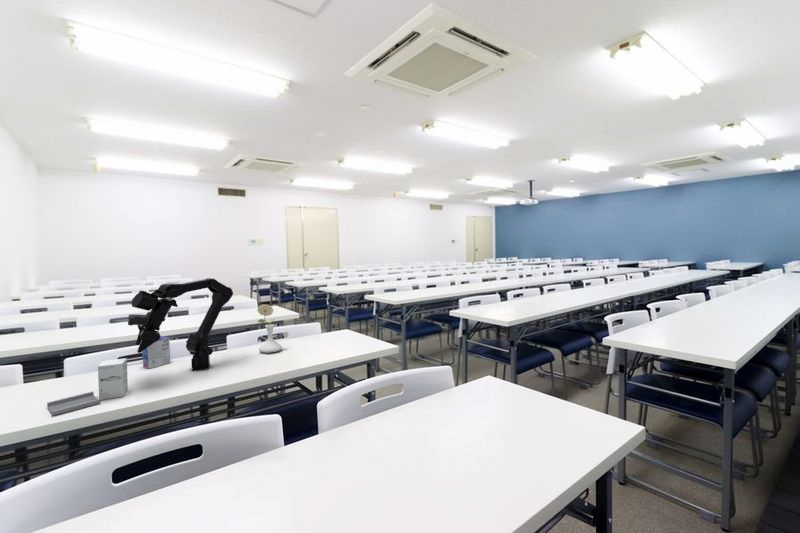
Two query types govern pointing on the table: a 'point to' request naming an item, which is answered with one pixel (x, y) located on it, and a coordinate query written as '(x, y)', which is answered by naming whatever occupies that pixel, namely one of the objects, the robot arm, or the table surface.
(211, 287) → the robot arm
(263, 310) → the flower in vase
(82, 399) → the tray
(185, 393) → the table surface
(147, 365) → the ink cartridge box
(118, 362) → the supplement box
